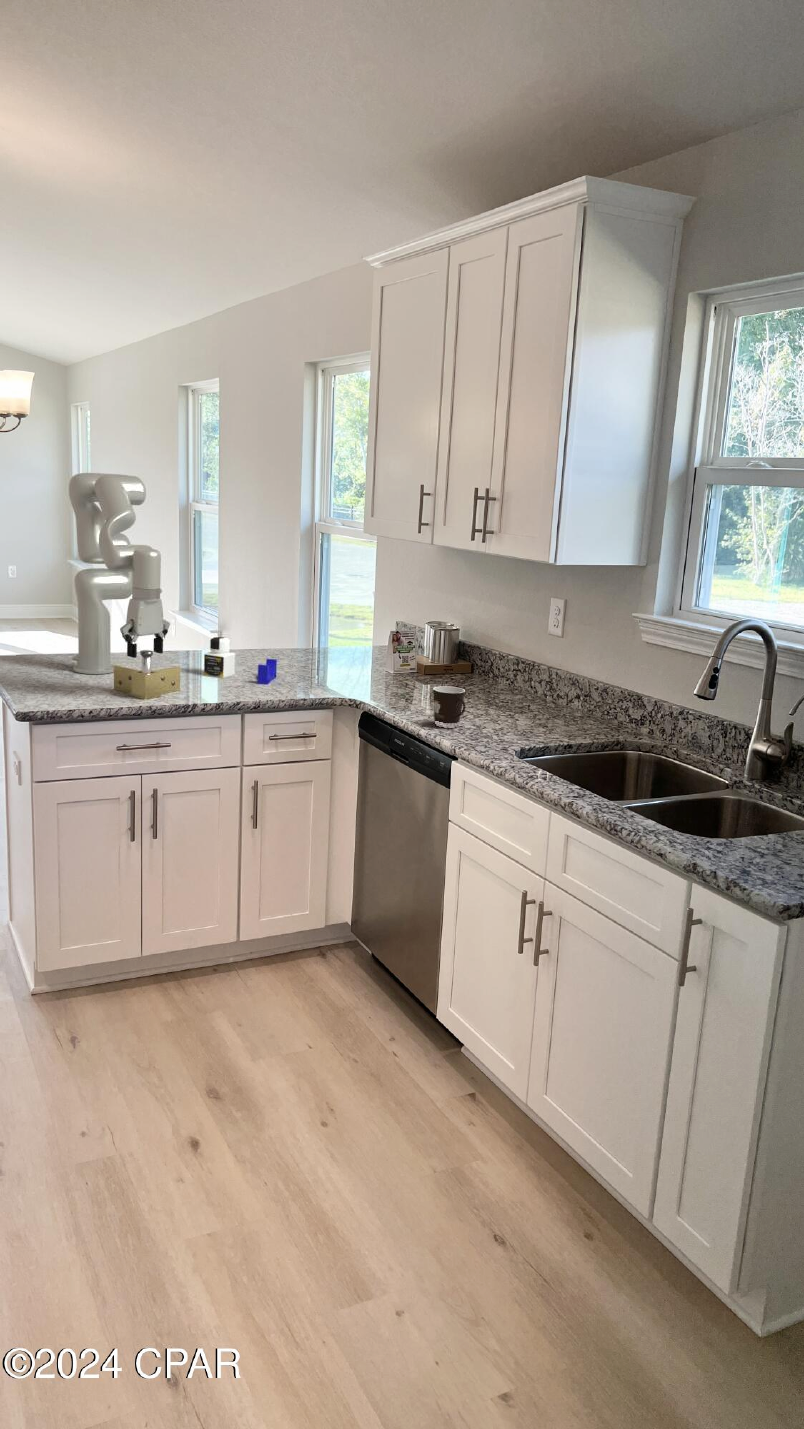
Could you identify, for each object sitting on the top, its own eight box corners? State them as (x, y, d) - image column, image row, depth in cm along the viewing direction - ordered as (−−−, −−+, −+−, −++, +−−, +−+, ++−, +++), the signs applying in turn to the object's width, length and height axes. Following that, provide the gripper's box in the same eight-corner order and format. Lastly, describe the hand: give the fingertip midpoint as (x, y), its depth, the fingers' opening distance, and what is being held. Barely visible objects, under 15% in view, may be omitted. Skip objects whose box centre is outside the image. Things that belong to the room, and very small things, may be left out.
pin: (137, 696, 292) (137, 651, 289) (146, 694, 294) (146, 649, 291) (145, 698, 290) (146, 652, 287) (154, 696, 293) (155, 651, 290)
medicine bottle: (203, 675, 325) (204, 637, 323) (215, 672, 332) (216, 635, 329) (223, 678, 323) (224, 640, 320) (235, 675, 329) (236, 637, 327)
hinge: (107, 690, 297) (107, 666, 295) (148, 683, 309) (148, 660, 308) (145, 699, 288) (145, 675, 287) (186, 692, 301) (186, 668, 299)
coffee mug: (428, 721, 284) (431, 685, 282) (460, 722, 285) (462, 687, 283) (433, 731, 273) (436, 694, 271) (466, 733, 274) (468, 696, 272)
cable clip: (262, 676, 330) (262, 658, 329) (276, 678, 330) (276, 659, 328) (252, 684, 319) (253, 664, 317) (267, 685, 318) (267, 666, 317)
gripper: (160, 590, 295) (158, 649, 299) (112, 594, 281) (111, 656, 285) (178, 593, 291) (177, 653, 295) (131, 598, 277) (130, 661, 281)
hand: (145, 654), depth 290 cm, fingers open, 9 cm apart
